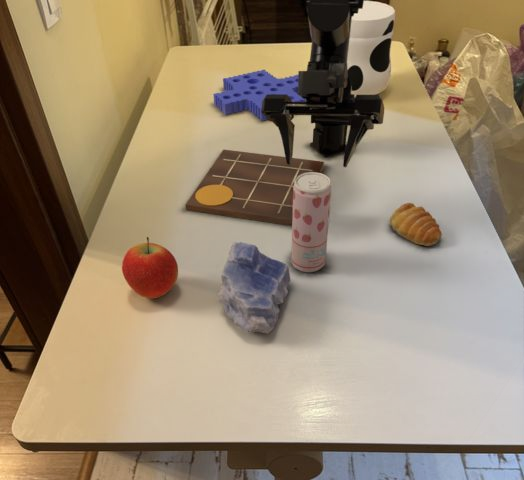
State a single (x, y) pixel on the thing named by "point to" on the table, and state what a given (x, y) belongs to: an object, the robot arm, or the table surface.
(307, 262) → the beverage can
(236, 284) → the mineral
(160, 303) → the table surface
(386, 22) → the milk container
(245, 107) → the building block
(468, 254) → the table surface
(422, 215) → the pastry
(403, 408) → the table surface
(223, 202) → the board
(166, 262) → the apple
